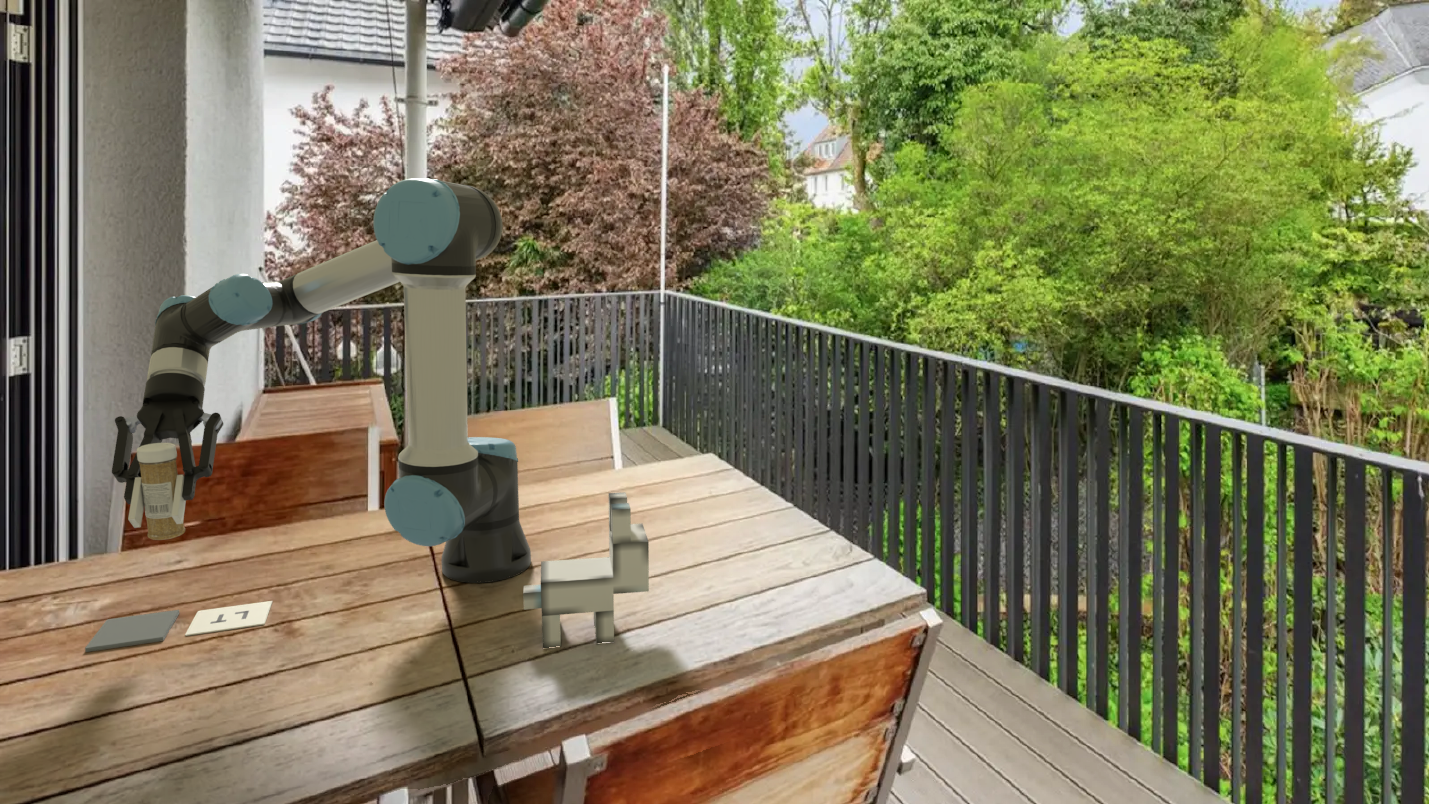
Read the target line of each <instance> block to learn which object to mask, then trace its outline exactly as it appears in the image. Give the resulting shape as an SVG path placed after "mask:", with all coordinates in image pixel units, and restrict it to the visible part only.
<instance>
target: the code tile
mask: <svg viewBox="0 0 1429 804" xmlns="http://www.w3.org/2000/svg"><path fill="white" fill-rule="evenodd" d="M272 604H273V600H269V601H262V602H261V601H260V602H259V601H258V602H254V603H245V604H238V605H237V604H236V605H232V606H224V607H216V608H215V607H214V608H209V609H202V610H197V612H196V614H195V616H194V617H193V619H192V621H191V623H190V625H189V627H187V630H186V632H185V634H184V636H185V637H189V636H196V635H202V634H208V633H215V632H224V631H228V630H230V631H231V630H236V629H241V628H242V629H244V628H249V627H251V628H252V627H257V626H265V624H266V622H267V619H268V616H269V613H270V610H271V607H272Z"/></svg>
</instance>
